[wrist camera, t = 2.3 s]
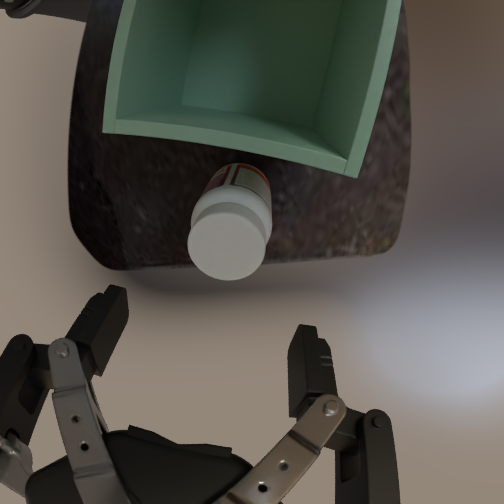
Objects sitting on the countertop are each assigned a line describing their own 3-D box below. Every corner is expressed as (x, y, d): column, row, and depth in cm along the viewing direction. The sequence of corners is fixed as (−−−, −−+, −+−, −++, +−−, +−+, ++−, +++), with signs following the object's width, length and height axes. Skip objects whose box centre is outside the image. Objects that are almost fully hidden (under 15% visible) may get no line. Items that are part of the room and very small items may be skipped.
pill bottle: (212, 219, 30) (186, 287, 20) (206, 162, 27) (171, 207, 17) (271, 218, 30) (272, 288, 20) (270, 160, 26) (273, 204, 17)
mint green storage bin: (316, 137, 25) (357, 179, 14) (174, 111, 24) (101, 133, 13) (350, -4, 17) (408, -59, 5) (206, -30, 16) (163, -98, 5)
